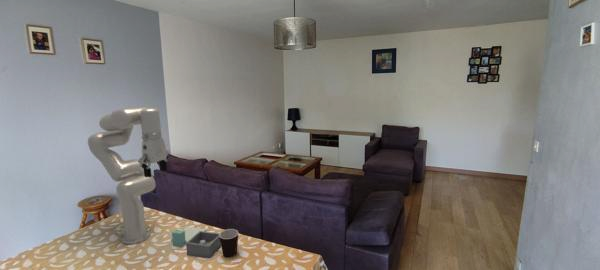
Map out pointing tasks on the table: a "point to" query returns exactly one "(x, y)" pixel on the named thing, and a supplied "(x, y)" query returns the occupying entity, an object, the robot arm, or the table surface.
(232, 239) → the coffee mug
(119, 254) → the table surface
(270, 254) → the table surface
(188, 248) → the tub
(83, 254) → the table surface
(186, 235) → the board with teal handle
